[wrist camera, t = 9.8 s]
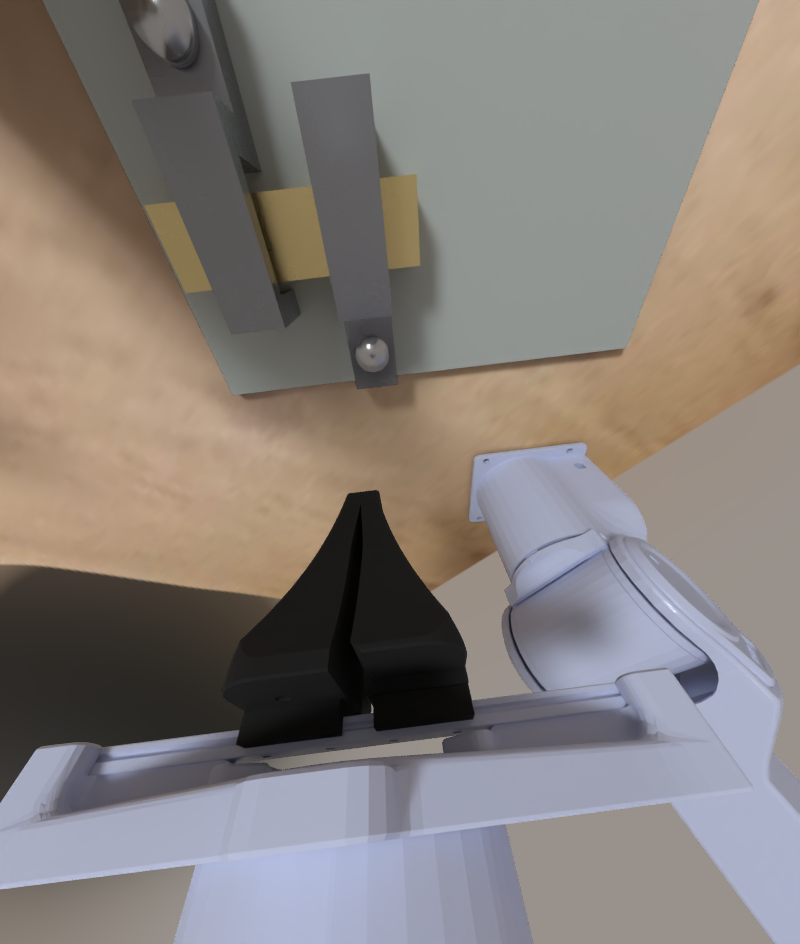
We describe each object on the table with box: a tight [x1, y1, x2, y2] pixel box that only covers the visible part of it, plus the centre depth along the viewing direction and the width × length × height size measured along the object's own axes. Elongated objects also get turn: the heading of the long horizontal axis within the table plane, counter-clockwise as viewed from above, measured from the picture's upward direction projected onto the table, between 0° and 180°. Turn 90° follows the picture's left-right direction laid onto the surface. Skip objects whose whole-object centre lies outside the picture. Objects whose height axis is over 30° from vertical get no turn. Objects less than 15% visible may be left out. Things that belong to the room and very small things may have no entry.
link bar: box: [144, 174, 420, 293], centre depth 13 cm, size 11×3×2 cm, turn 95°
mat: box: [42, 0, 759, 395], centre depth 14 cm, size 26×15×1 cm, turn 95°
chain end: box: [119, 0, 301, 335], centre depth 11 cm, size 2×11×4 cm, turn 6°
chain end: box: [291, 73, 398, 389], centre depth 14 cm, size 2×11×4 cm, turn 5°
